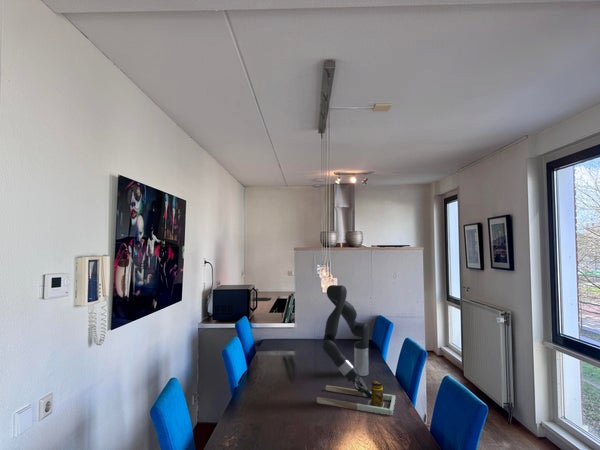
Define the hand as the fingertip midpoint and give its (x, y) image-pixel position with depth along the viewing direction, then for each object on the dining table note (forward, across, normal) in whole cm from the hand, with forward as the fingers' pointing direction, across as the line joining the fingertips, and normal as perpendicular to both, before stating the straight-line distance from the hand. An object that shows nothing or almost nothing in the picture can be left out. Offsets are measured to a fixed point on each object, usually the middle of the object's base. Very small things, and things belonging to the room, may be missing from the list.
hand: (370, 396), depth 182 cm
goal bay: (+4, 0, +1) cm, 4 cm away
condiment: (+5, 0, +1) cm, 5 cm away
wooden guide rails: (-9, 0, +14) cm, 17 cm away
